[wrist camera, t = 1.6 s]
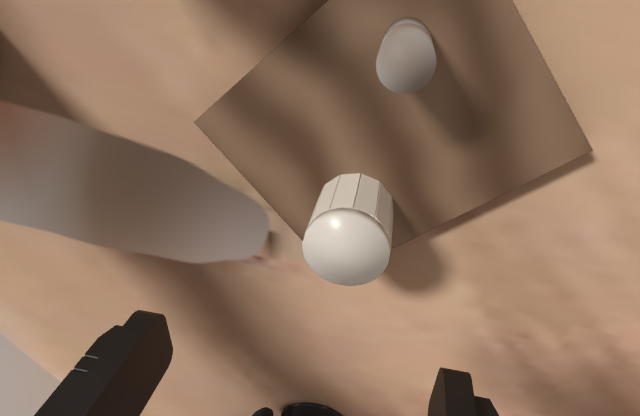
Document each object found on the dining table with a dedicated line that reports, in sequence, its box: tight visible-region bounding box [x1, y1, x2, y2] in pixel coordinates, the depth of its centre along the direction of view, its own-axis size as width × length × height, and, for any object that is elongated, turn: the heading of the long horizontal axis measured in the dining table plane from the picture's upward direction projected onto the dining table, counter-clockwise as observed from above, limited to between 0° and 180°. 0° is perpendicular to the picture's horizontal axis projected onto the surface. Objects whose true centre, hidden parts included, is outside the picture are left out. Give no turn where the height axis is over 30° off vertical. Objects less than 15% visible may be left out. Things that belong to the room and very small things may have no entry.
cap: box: [302, 173, 393, 286], centre depth 30 cm, size 6×6×6 cm
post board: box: [194, 0, 592, 249], centre depth 27 cm, size 22×18×8 cm
